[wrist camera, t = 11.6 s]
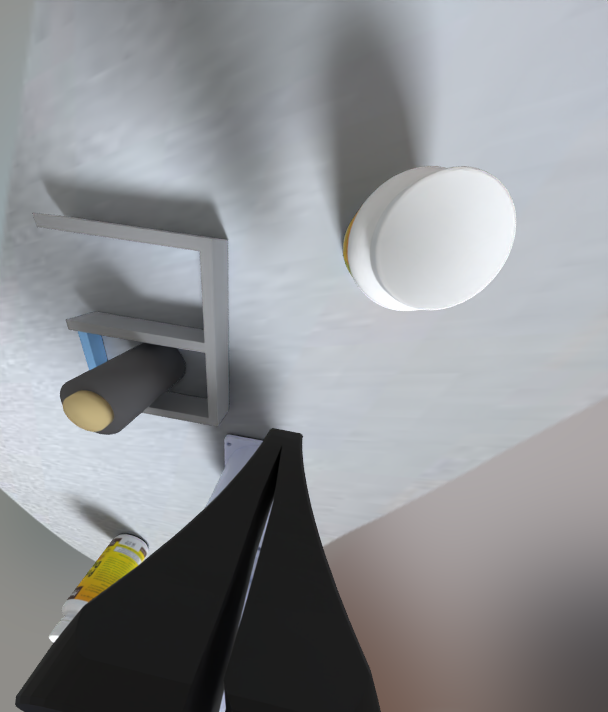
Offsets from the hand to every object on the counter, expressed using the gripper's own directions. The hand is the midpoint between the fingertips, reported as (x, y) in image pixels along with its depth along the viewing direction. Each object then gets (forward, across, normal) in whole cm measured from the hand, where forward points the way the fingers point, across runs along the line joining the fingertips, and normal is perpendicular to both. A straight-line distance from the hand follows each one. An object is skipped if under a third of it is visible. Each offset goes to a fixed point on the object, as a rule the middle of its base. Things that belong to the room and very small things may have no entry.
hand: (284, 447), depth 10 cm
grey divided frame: (+10, +13, 0) cm, 17 cm away
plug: (+10, +13, +4) cm, 17 cm away
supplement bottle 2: (+11, -4, -8) cm, 14 cm away
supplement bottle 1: (+10, +22, +37) cm, 44 cm away
